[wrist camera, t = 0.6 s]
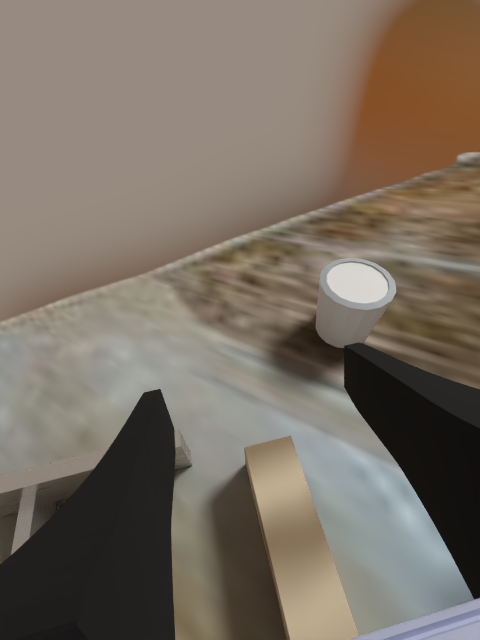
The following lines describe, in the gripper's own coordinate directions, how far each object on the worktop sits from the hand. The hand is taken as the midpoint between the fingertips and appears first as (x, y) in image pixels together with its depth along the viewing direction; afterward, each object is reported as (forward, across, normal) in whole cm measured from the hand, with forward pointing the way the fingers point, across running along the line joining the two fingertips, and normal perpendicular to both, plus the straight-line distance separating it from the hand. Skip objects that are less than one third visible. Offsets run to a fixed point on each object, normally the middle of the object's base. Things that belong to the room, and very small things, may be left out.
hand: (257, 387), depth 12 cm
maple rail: (+3, -1, +17) cm, 17 cm away
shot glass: (+19, -12, +10) cm, 25 cm away
